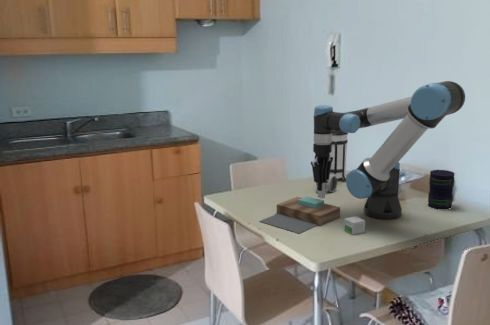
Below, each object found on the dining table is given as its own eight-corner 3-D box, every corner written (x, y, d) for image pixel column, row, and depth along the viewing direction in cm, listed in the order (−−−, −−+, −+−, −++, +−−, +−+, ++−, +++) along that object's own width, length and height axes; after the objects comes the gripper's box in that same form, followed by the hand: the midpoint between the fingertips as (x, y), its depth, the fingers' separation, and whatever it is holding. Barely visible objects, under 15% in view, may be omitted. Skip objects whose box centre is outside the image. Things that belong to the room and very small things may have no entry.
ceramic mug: (322, 187, 249) (322, 172, 247) (337, 189, 245) (337, 174, 243) (311, 193, 241) (311, 177, 239) (327, 195, 236) (327, 179, 234)
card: (324, 205, 210) (324, 200, 210) (315, 208, 206) (315, 204, 205) (306, 200, 216) (306, 196, 216) (297, 204, 212) (297, 199, 211)
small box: (343, 230, 194) (344, 218, 193) (356, 227, 196) (356, 215, 195) (352, 235, 189) (353, 222, 187) (365, 232, 191) (365, 220, 190)
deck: (339, 216, 208) (340, 207, 207) (320, 225, 198) (320, 216, 197) (297, 205, 223) (297, 196, 222) (276, 213, 213) (276, 204, 212)
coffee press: (312, 178, 265) (312, 121, 258) (334, 173, 274) (336, 118, 267) (335, 185, 251) (336, 125, 244) (358, 180, 260) (360, 122, 253)
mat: (317, 225, 199) (317, 224, 199) (299, 233, 190) (299, 233, 190) (278, 214, 212) (278, 213, 212) (259, 221, 204) (259, 221, 204)
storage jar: (456, 206, 218) (459, 172, 214) (444, 211, 212) (446, 177, 208) (435, 201, 225) (438, 168, 222) (422, 205, 219) (425, 172, 216)
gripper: (324, 139, 217) (323, 192, 223) (305, 144, 208) (304, 199, 214) (339, 141, 212) (337, 195, 218) (320, 146, 203) (319, 202, 209)
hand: (321, 197), depth 216 cm, fingers closed
